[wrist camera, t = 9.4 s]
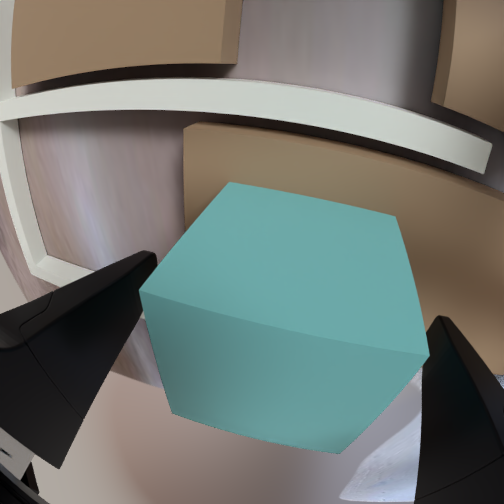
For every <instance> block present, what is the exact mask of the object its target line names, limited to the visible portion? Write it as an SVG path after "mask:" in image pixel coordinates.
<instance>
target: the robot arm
mask: <svg viewBox="0 0 504 504" xmlns="http://www.w3.org/2000/svg"><path fill="white" fill-rule="evenodd" d="M157 266H158V265H157V257H156V254H155V253H153V252H150V251H146V250H143V251H140V252H138V253H136V254H133V255H131V256H129V257H127V258H124V259H122V260H120V261H118V262H115V263H113V264H111V265H109V266H106V267H104V268H102V269H100V270H97V271H95V272H93V273H91V274H89V275H86V276H84V277H82V278H80V279H78V280H76V281H73V282H71V283H69V284H67V285H65V286H63V287H61V288H58V289H56V290H54V292H53V291H52V292H50V293H48V294H46V295H44V296H42V297H39V298H37V299H35V300H33V301H31V302H28V303H26V304H24V305H21V306H19V307H16V308H14V309H12V310H9V311H6V312H4V313H2V314H0V504H49V503H48V502H46V501H45V500H44V499H42V498H41V497H40V496H38V494H39V489H38V486H37V483H36V478H35V474H34V470H33V466H32V462H31V460H32V458H33V457H34V455H35V454H36V455H37V456H39V457H41V458H42V459H43V460H45V461H46V462H48V463H49V464H51V465H52V466H54V467H56V468H57V469H60V467H61V466H62V463H63V461H64V459H65V457H66V455H67V452H68V451H69V449H70V447H71V444H72V442H73V440H74V438H75V436H76V434H77V432H78V430H79V428H80V426H81V424H82V422H83V419H84V418H85V416H86V414H87V412H88V410H89V408H90V406H91V404H92V403H93V401H94V399H95V397H96V395H97V393H98V391H99V389H100V387H101V385H102V384H103V382H104V380H105V378H106V376H107V374H108V373H109V371H110V369H111V367H112V365H113V364H114V362H115V360H116V358H117V356H118V355H119V353H120V351H121V349H122V348H123V346H124V344H125V342H126V341H127V339H128V337H129V335H130V334H131V332H132V330H133V329H134V327H135V325H136V324H137V322H138V320H139V318H140V316H141V314H142V312H143V307H142V303H141V298H140V293H139V289H140V288H141V287H142V285H143V284H144V283H145V282H146V280H147V279H148V278H149V276H150V275H151V274H152V273H153V271H154V270H155V269H156V268H157ZM426 337H427V343H428V349H429V355H430V356H429V357H428V359H427V360H426V361H425V363H424V364H423V369H422V421H421V443H420V457H419V468H418V477H417V486H416V493H415V500H414V504H504V389H503V387H502V386H501V385H500V383H499V382H498V380H497V379H496V377H495V376H494V375H493V373H492V372H491V370H490V369H489V368H488V366H487V365H486V364H485V362H484V361H483V360H482V358H481V357H480V356H479V354H478V353H477V352H476V350H475V349H474V348H473V346H472V345H471V344H470V342H469V341H468V340H467V339H466V337H465V336H464V335H463V334H462V332H461V331H460V330H459V329H458V327H457V326H456V325H455V324H454V322H453V321H452V320H451V319H450V318H449V317H447V316H442V315H438V316H436V317H435V319H434V320H433V322H432V324H431V325H430V327H429V328H428V330H427V332H426Z"/></svg>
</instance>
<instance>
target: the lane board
mask: <svg viewBox="0 0 504 504" xmlns="http://www.w3.org/2000/svg"><path fill="white" fill-rule="evenodd" d="M242 2H243V0H0V173H1V178H2V182H3V187H4V191H5V195H6V199H7V202H8V206H9V210H10V213H11V217H12V220H13V223H14V227H15V230H16V233H17V236H18V239H19V242H20V245H21V248H22V251H23V253H24V256H25V259H26V262H27V264H28V267H29V269H30V272H31V274H32V275H34V276H36V277H38V278H41V279H43V280H45V281H47V282H50V283H52V284H54V285H57V286H59V287H63V286H65V285H67V284H69V283H71V282H73V281H76V280H78V279H80V278H82V277H84V276H86V275H89V274H91V273H93V272H95V271H92V270H89V269H86V268H83V267H80V266H77V265H74V264H71V263H68V262H66V261H63V260H60V259H57V258H54V257H52V256H49V255H47V252H46V249H45V246H44V243H43V240H42V237H41V233H40V230H39V226H38V223H37V219H36V215H35V212H34V208H33V204H32V200H31V195H30V191H29V186H28V182H27V177H26V172H25V167H24V161H23V155H22V149H21V142H20V135H19V127H18V118H24V117H31V116H39V115H47V114H57V113H68V112H81V111H99V110H179V111H198V112H212V113H224V114H234V115H243V116H252V117H260V118H268V119H275V120H282V121H288V122H294V123H300V124H306V125H312V126H317V127H322V128H327V129H332V130H337V131H342V132H346V133H351V134H355V135H359V136H364V137H368V138H372V139H376V140H380V141H383V142H387V143H391V144H395V145H398V146H402V147H405V148H409V149H412V150H415V151H418V152H422V153H425V154H428V155H431V156H434V157H437V158H440V159H443V160H446V161H449V162H452V163H455V164H457V165H460V166H463V167H465V168H468V169H471V170H473V171H476V172H479V173H481V174H484V171H485V168H486V165H487V162H488V158H489V155H490V151H491V148H492V144H491V143H490V142H488V141H486V140H485V139H483V138H481V137H480V136H478V135H476V134H474V133H471V132H469V131H466V130H464V129H461V128H459V127H456V126H453V125H451V124H448V123H445V122H443V121H440V120H437V119H434V118H431V117H428V116H425V115H422V114H419V113H416V112H413V111H410V110H406V109H403V108H400V107H396V106H393V105H389V104H385V103H382V102H378V101H374V100H370V99H366V98H362V97H357V96H353V95H348V94H344V93H339V92H334V91H328V90H323V89H317V88H312V87H305V86H299V85H292V84H285V83H277V82H268V81H258V80H247V79H233V78H214V77H153V78H134V79H121V80H110V81H101V82H92V83H85V84H78V85H71V86H65V87H59V88H54V89H49V90H44V91H39V92H34V93H30V94H25V95H21V96H17V97H16V94H15V88H18V87H21V86H25V85H28V84H32V83H36V82H40V81H44V80H49V79H53V78H58V77H63V76H68V75H73V74H78V73H84V72H90V71H97V70H104V69H111V68H120V67H129V66H140V65H155V64H178V63H217V64H237V57H238V45H239V34H240V23H241V12H242ZM140 318H142V319H145V316H144V311H143V312H142V314H141V316H140Z"/></svg>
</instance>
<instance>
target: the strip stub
mask: <svg viewBox="0 0 504 504" xmlns="http://www.w3.org/2000/svg"><path fill="white" fill-rule="evenodd" d="M431 102H433V103H436V104H438V105H441V106H443V107H446V108H449V109H451V110H454V111H457V112H459V113H462V114H464V115H466V116H469V117H471V118H474V119H476V120H478V121H480V122H483V123H485V124H487V125H489V126H491V127H494V128H496V129H498V130H500V131H502V132H504V0H443V16H442V28H441V38H440V46H439V54H438V62H437V69H436V75H435V81H434V87H433V92H432V98H431Z"/></svg>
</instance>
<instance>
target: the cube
mask: <svg viewBox="0 0 504 504" xmlns="http://www.w3.org/2000/svg"><path fill="white" fill-rule="evenodd" d="M139 293H140V298H141V303H142V307H143V311H144V316H145V320H146V324H147V328H148V332H149V336H150V340H151V344H152V348H153V352H154V355H155V359H156V363H157V366H158V370H159V373H160V377H161V380H162V383H163V386H164V390H165V393H166V396H167V399H168V402H169V405H170V408H171V411H172V413H173V414H175V415H178V416H181V417H184V418H187V419H190V420H192V421H195V422H199V423H202V424H205V425H208V426H211V427H214V428H218V429H221V430H225V431H228V432H232V433H235V434H239V435H243V436H247V437H251V438H255V439H259V440H263V441H268V442H272V443H277V444H281V445H287V446H292V447H298V448H303V449H309V450H315V451H321V452H328V453H336V454H340V453H341V452H342V451H343V450H344V449H346V448H347V447H348V446H349V445H350V444H351V443H352V442H353V441H354V440H355V439H356V438H357V437H358V436H359V435H360V434H361V433H362V432H363V431H364V430H365V429H366V428H367V427H368V426H369V425H370V424H371V423H372V422H373V421H374V420H375V419H376V418H377V417H378V416H379V415H380V414H381V413H382V412H383V411H384V410H385V409H386V408H387V407H388V405H389V404H390V403H391V402H392V401H393V400H394V399H395V398H396V396H397V395H398V394H399V393H400V392H401V391H402V390H403V388H404V387H405V386H406V385H407V384H408V383H409V381H410V380H411V379H412V378H413V376H414V375H415V374H416V373H417V371H418V370H419V369H420V368H421V366H422V365H423V364H424V363H425V361H426V360H427V359H428V357H429V356H430V355H429V349H428V343H427V337H426V332H425V327H424V321H423V317H422V312H421V307H420V303H419V298H418V294H417V290H416V286H415V282H414V278H413V274H412V270H411V266H410V263H409V259H408V256H407V252H406V249H405V245H404V242H403V239H402V235H401V232H400V229H399V226H398V223H397V220H396V217H395V216H392V215H388V214H384V213H380V212H376V211H372V210H367V209H363V208H359V207H355V206H350V205H346V204H341V203H337V202H332V201H328V200H323V199H318V198H314V197H309V196H304V195H299V194H294V193H289V192H284V191H278V190H273V189H267V188H262V187H256V186H251V185H245V184H239V183H233V182H229V183H228V184H227V185H226V186H225V187H224V188H223V189H222V190H221V192H220V193H219V194H218V195H217V196H216V197H215V198H214V199H213V201H212V202H211V203H210V204H209V205H208V206H207V208H206V209H205V210H204V211H203V212H202V213H201V215H200V216H199V217H198V218H197V219H196V220H195V222H194V223H193V224H192V225H191V226H190V227H189V229H188V230H187V231H186V232H185V233H184V235H183V236H182V237H181V238H180V239H179V241H178V242H177V243H176V244H175V245H174V247H173V248H172V249H171V250H170V252H169V253H168V254H167V255H166V256H165V258H164V259H163V260H162V261H161V263H160V264H159V265H158V266H157V268H156V269H155V270H154V271H153V273H152V274H151V275H150V276H149V278H148V279H147V280H146V282H145V283H144V284H143V285H142V287H141V288H140V289H139Z"/></svg>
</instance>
